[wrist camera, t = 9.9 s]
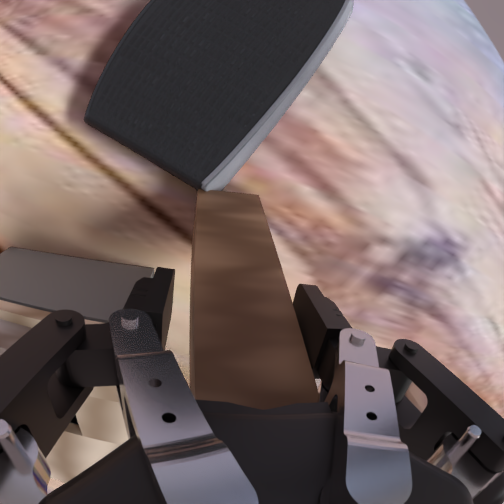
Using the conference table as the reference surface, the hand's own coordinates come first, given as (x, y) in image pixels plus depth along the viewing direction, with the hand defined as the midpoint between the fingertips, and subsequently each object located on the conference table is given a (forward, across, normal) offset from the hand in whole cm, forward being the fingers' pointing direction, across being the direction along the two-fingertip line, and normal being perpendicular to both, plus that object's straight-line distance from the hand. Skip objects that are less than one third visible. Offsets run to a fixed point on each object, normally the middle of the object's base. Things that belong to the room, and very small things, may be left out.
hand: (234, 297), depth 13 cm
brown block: (+9, 0, -1) cm, 9 cm away
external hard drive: (+12, +2, -13) cm, 18 cm away
